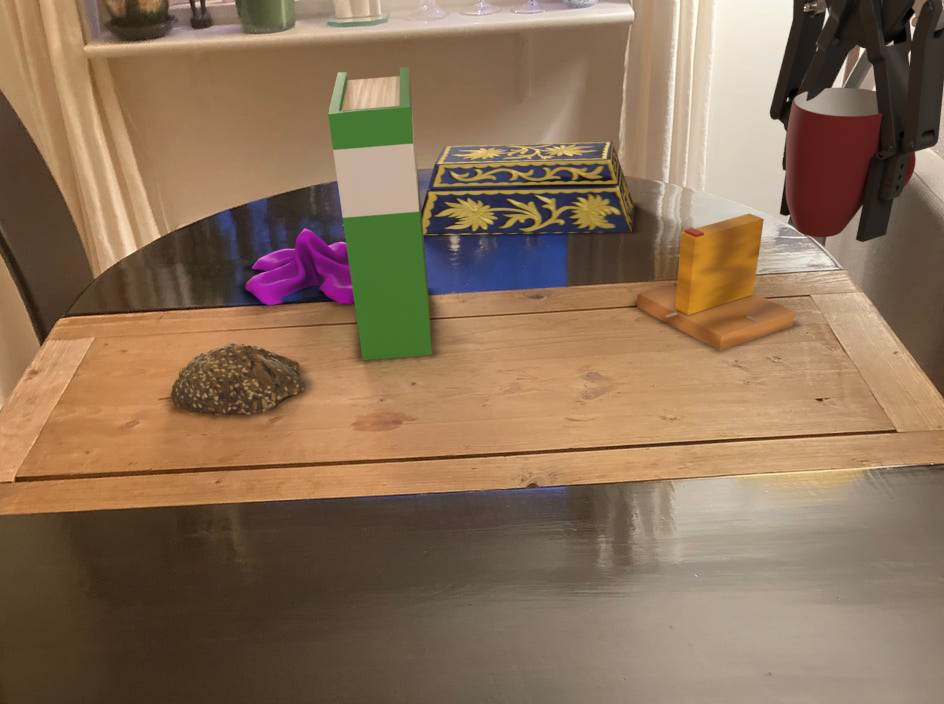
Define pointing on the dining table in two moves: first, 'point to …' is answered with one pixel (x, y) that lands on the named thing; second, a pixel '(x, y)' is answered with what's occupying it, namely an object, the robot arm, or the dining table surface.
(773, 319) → the board
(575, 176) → the decorative box
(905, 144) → the robot arm
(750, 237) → the bar
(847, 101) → the mug
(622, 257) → the dining table surface
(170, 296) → the dining table surface
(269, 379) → the bread roll
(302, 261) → the cloth
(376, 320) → the hardback book
